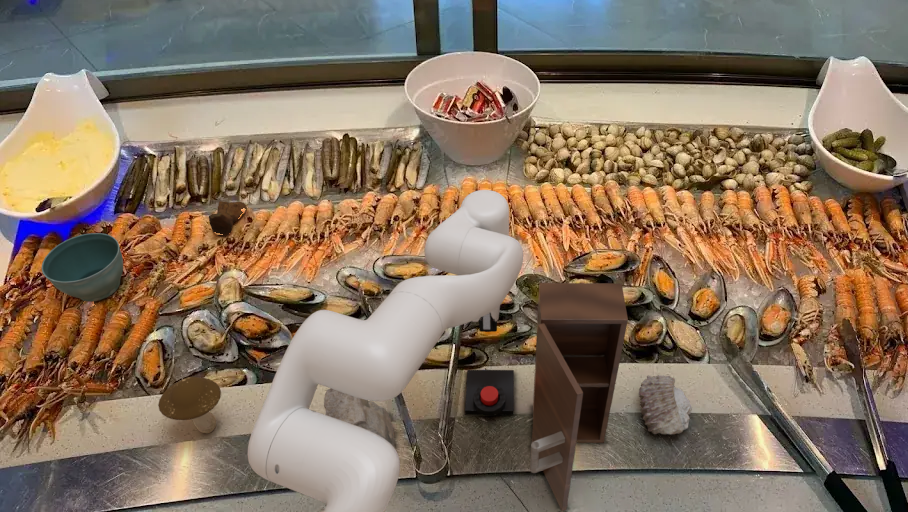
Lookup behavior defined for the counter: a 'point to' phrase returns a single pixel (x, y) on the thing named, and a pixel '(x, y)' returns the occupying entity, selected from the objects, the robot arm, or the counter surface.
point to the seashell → (664, 405)
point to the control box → (494, 378)
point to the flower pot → (85, 266)
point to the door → (554, 417)
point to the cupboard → (587, 344)
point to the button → (489, 395)
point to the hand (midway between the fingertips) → (488, 328)
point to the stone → (359, 413)
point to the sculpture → (226, 217)
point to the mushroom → (192, 402)
